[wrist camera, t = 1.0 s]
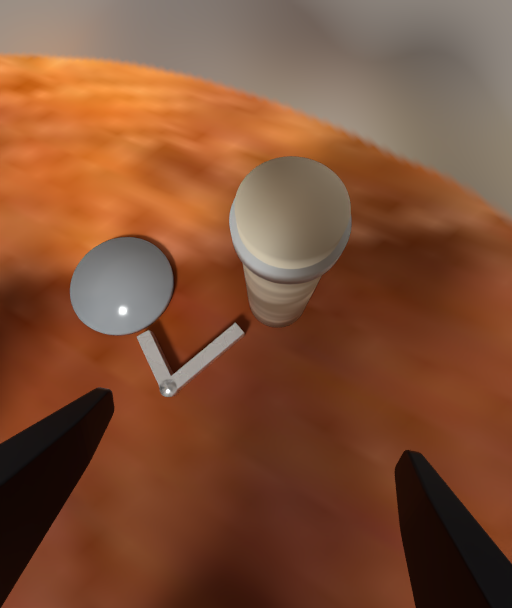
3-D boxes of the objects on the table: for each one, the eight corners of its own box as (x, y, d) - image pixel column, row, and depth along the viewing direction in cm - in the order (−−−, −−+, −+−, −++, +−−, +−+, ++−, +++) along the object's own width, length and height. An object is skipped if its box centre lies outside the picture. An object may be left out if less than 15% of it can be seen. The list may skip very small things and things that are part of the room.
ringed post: (265, 343, 24) (267, 291, 11) (233, 288, 25) (204, 184, 12) (321, 311, 24) (385, 226, 12) (288, 258, 25) (313, 131, 13)
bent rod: (168, 399, 23) (163, 399, 22) (140, 339, 24) (135, 337, 23) (253, 351, 23) (253, 349, 23) (222, 295, 25) (221, 291, 24)
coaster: (95, 354, 24) (92, 354, 23) (59, 268, 26) (55, 265, 25) (191, 303, 25) (189, 302, 24) (149, 223, 26) (147, 220, 26)
